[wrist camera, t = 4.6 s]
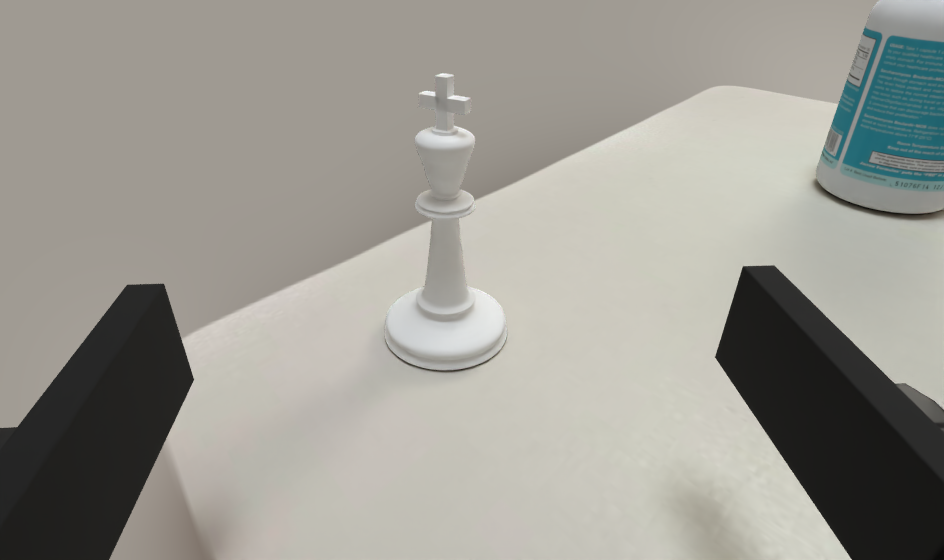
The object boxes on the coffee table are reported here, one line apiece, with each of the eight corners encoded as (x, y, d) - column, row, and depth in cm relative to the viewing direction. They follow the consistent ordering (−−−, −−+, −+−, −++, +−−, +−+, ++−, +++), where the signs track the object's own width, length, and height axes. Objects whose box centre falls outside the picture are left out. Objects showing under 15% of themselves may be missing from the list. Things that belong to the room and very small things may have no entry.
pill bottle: (981, 212, 34) (1122, -53, 27) (879, 225, 32) (1000, -55, 25) (876, 166, 40) (968, -60, 33) (785, 175, 39) (861, -62, 31)
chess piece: (425, 285, 26) (419, 52, 21) (526, 316, 25) (546, 69, 19) (359, 346, 23) (331, 81, 17) (472, 387, 21) (479, 105, 15)
